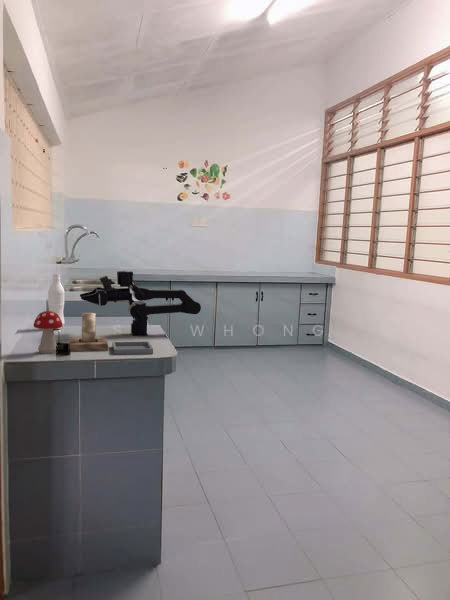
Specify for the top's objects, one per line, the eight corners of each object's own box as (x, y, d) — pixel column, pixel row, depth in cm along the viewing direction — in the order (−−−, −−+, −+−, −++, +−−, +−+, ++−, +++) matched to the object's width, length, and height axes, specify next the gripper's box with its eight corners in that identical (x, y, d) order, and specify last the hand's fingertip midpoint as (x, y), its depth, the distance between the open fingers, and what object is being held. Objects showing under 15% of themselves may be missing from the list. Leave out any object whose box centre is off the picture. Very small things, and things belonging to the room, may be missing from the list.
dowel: (95, 345, 194) (95, 312, 193) (95, 348, 189) (95, 314, 188) (81, 345, 193) (81, 312, 191) (81, 348, 188) (81, 314, 187)
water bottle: (67, 328, 228) (68, 274, 226) (56, 330, 222) (56, 274, 219) (55, 327, 231) (56, 273, 229) (44, 329, 225) (44, 273, 222)
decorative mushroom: (64, 349, 185) (64, 309, 183) (60, 354, 176) (60, 312, 175) (36, 349, 183) (36, 309, 182) (30, 354, 175) (30, 312, 173)
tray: (148, 346, 197) (148, 341, 197) (153, 353, 184) (153, 348, 184) (112, 346, 194) (112, 341, 193) (114, 354, 180) (114, 349, 180)
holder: (106, 343, 200) (106, 337, 199) (107, 350, 186) (107, 344, 186) (69, 343, 196) (69, 337, 196) (68, 351, 183) (68, 344, 182)
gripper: (114, 274, 224) (78, 276, 219) (119, 278, 207) (80, 279, 202) (115, 299, 226) (79, 301, 221) (120, 304, 208) (82, 306, 203)
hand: (80, 296), depth 212 cm, fingers open, 9 cm apart
